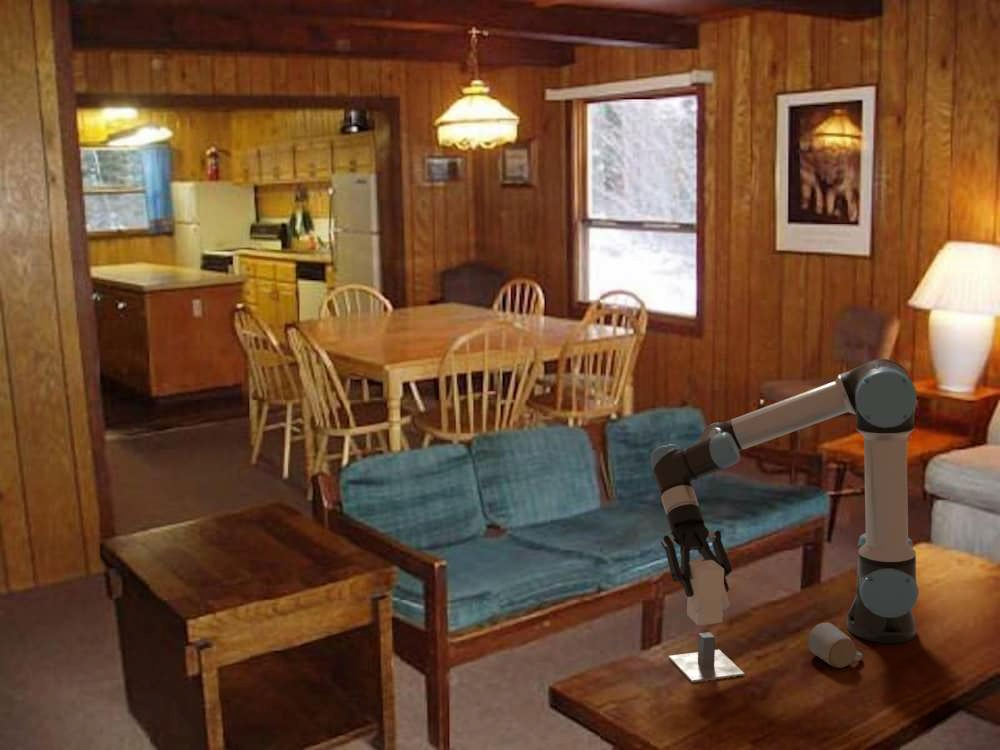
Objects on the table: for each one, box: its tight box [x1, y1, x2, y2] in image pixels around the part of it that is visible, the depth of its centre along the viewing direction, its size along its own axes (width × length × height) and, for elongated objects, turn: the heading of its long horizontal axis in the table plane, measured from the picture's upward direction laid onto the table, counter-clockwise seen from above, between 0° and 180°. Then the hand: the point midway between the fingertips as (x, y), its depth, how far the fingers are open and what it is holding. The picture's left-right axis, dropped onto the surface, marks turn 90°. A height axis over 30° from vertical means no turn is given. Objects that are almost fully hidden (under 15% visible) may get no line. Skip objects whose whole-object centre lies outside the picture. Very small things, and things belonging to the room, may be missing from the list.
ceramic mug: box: [807, 621, 863, 669], centre depth 230 cm, size 11×8×8 cm
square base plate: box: [668, 632, 745, 684], centre depth 228 cm, size 12×12×7 cm
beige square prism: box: [686, 559, 724, 626], centre depth 226 cm, size 6×6×12 cm
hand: (712, 608), depth 223 cm, fingers closed on beige square prism, 6 cm apart
